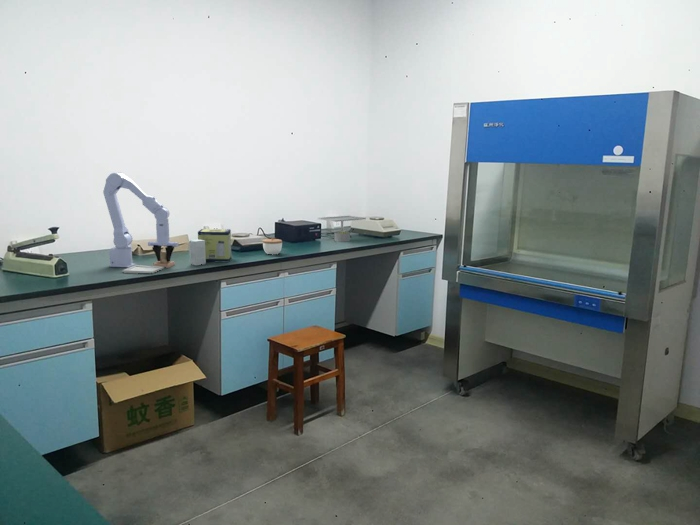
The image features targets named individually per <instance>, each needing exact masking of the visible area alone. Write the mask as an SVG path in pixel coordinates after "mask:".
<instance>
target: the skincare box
mask: <svg viewBox="0 0 700 525" xmlns="http://www.w3.org/2000/svg"><path fill="white" fill-rule="evenodd" d="M189 243H190V244H189V246H190V265H191V264H192V266H201V264H202V265H206V263H207V262H206V255H205V240H198V239H193V240H190V242H189Z"/></svg>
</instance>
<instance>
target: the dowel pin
mask: <svg viewBox="0 0 700 525" xmlns="http://www.w3.org/2000/svg"><path fill="white" fill-rule="evenodd" d="M160 258H161V264H167V254H166V250H164V251H163V250H161V252H160Z"/></svg>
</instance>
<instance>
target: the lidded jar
mask: <svg viewBox="0 0 700 525" xmlns="http://www.w3.org/2000/svg"><path fill="white" fill-rule="evenodd" d="M282 247H283V240H282V239H279V238H274V237H273V236H272V237H271V238H267V239H266V238H265V239H262V248H263V250H264V252H265V253H266V254H267V255H268V254H272V255H271V256H274V255H273V254H277V255H278V254H279V253H281V251H282Z"/></svg>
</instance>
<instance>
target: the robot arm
mask: <svg viewBox="0 0 700 525" xmlns="http://www.w3.org/2000/svg"><path fill="white" fill-rule="evenodd" d="M121 188H122V189H127V190H129V191H130V192H131V193H133V194H134V196H136V197H137V198H138V199H140V200H141V201H142V202H141V203H142V206H144V207H145V208H146V209H147V210H148V211H149V212H150V213H151V214H152V215H154V218H155V221H156V224H155V226H156V227H155V228H156V241H155V240H154V241H147V246H148V247H151V250H152V251H153V253H154V254H155V256H156V260H157V262H158V261H161V258H160V252H161V251H162V247H165V248H164V249H165V251H166V254H167V262H169V261H171V258H172V253H173V252H174V250H175V248H178V247H180V245H179V242H175V241H174V242H173V241H170V223H169V217H170V211H169V209H168V208H167V207H165V206H164V205H163V204H161V203H160V202H159V201H157V198H156V197H155V196H152V195H147V194H146V193H145V192H144V191H143V190H142V189H141V188H140V187H139V186H138V185H137V184H136V183H135V182H134V181H133V180H132V179H131V178H130V177H128V176H127V175H126V174H125V173H124V172H112V173H110V174H109V175H108V176H107V178H106V179H105V185H104V187H103V192H102V193H103V196H104V199H105V203H106V206H107V210H108V214H109V216H110V220H111V223H112V227H113V245H114V246H115V247H114V246H113V247H111V248H110V250H109V264H110V265H109V267H111V268H129V267H132V266H135V265H137V263H134V262H133V251H132V250H133V247H132V242H133V235H132V234H130V232H129V229H128V228H127V227H126V224H125V221H124V218H123V214H122V210H121V207H120V203H119V200H118V197H117V193H118V191H119V190H120V189H121Z"/></svg>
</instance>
